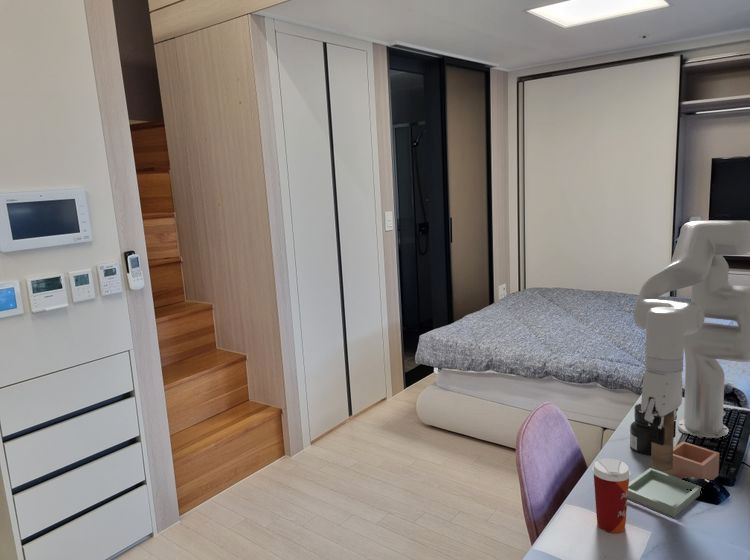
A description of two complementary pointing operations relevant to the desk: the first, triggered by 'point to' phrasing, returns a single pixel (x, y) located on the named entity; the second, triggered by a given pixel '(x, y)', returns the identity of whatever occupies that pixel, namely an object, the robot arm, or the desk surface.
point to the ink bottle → (640, 433)
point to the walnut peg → (664, 446)
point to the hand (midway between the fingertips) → (662, 438)
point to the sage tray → (662, 492)
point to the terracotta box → (694, 462)
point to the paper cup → (611, 494)
